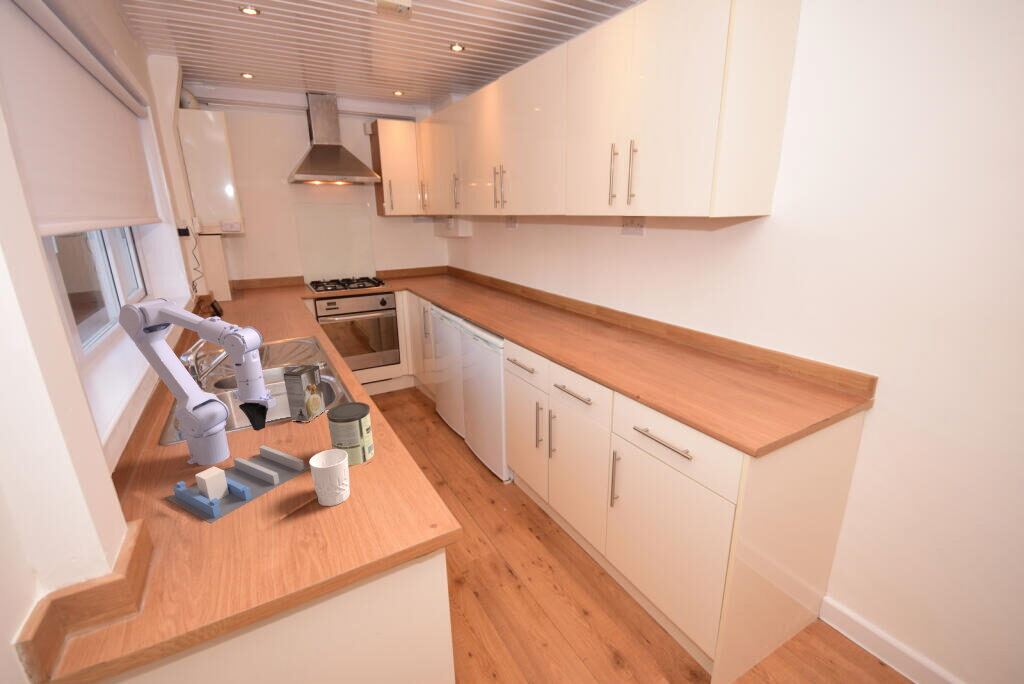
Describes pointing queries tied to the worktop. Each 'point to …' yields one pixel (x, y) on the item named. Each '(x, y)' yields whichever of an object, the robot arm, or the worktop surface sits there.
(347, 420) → the coffee can
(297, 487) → the worktop surface
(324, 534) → the worktop surface
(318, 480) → the white cup
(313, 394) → the coffee box
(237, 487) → the grey railed board
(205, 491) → the cream plug
